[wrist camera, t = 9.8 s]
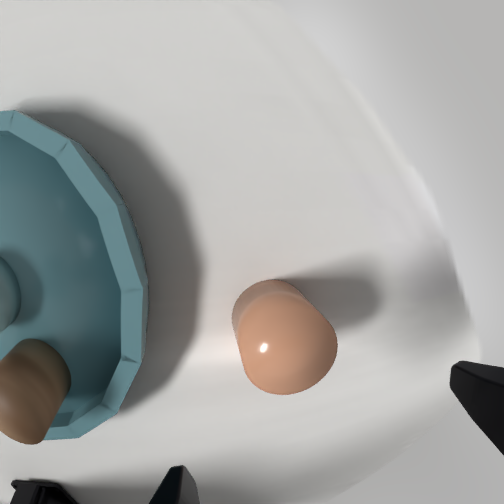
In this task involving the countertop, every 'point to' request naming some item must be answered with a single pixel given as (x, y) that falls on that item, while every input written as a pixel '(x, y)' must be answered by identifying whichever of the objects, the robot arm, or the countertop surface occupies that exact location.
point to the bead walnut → (31, 390)
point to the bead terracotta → (282, 338)
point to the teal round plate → (69, 269)
